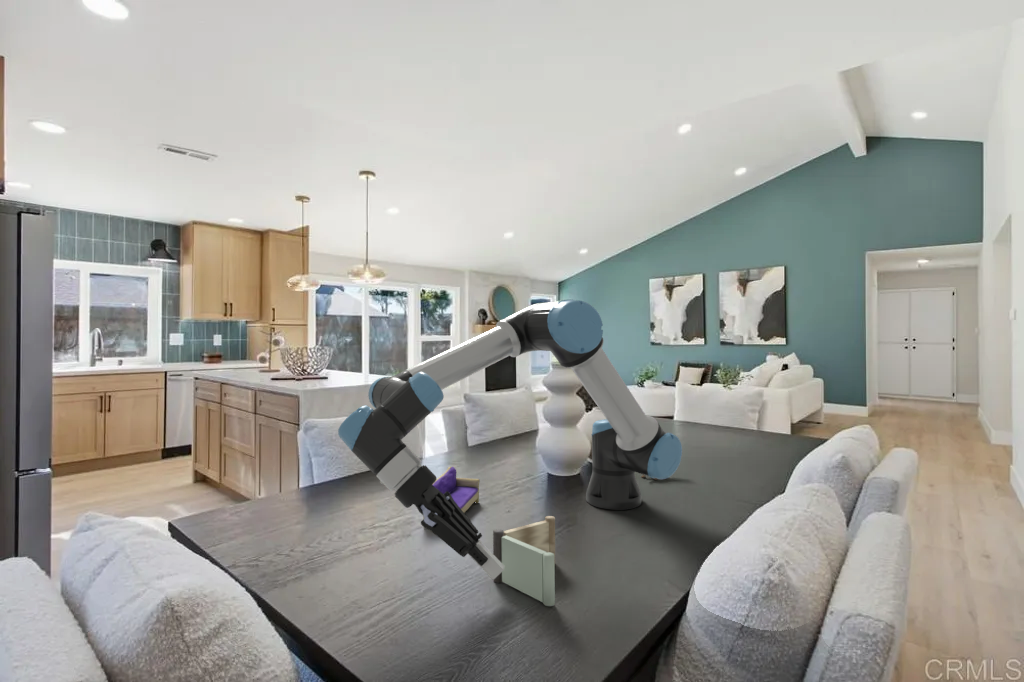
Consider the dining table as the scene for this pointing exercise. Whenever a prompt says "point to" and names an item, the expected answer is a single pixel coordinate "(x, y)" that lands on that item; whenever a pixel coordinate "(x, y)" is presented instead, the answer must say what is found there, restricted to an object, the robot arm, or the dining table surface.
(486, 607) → the dining table surface
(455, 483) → the toy sofa
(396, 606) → the dining table surface
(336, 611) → the dining table surface
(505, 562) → the panel
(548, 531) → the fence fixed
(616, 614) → the dining table surface
